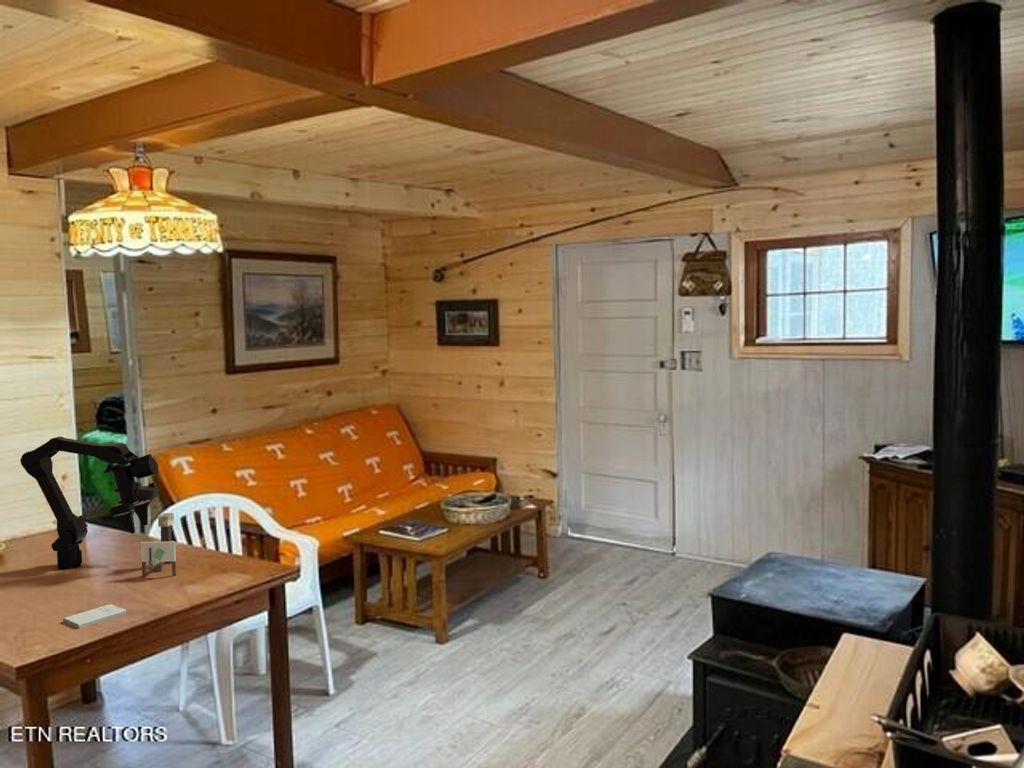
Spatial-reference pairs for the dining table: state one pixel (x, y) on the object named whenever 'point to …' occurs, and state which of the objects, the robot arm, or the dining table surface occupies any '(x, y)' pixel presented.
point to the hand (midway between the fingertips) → (139, 529)
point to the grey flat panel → (158, 551)
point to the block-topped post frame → (163, 533)
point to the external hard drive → (94, 616)
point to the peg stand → (160, 567)
